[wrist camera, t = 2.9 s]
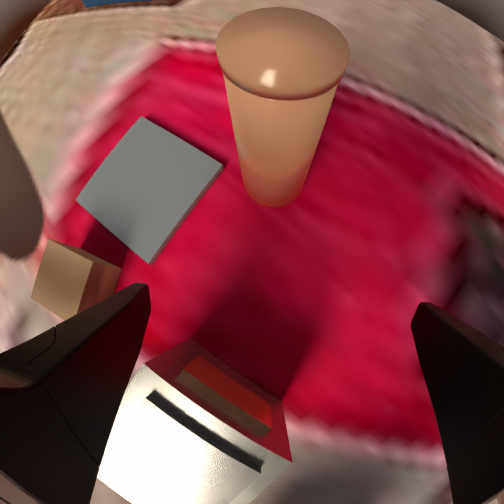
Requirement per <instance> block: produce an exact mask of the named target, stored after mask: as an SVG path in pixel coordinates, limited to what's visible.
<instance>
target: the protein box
mask: <svg viewBox="0 0 504 504" xmlns="http://www.w3.org/2000/svg"><path fill="white" fill-rule="evenodd" d="M134 1H150V0H82V2H83V4H84V5H85V7H92V6H98V5H105V4H113V3H123V2H134Z"/></svg>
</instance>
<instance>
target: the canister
mask: <svg viewBox="0 0 504 504" xmlns="http://www.w3.org/2000/svg"><path fill="white" fill-rule="evenodd" d="M216 52H217V57H218V62H219V66H220V68H221V70H222V72H223V74H224V80H225V85H226V91H227V97H228V102H229V108H230V113H231V119H232V124H233V130H234V135H235V141H236V147H237V152H238V158H239V163H240V169H241V175H242V180H243V185H244V188H245V191H246V192H247V194H248V195H249V197H250V198H251V199H252V200H254V201H255V202H256V203H258V204H260V205H263V206H266V207H282V206H285V205H288V204H290V203H291V202H293V201H294V200H295V199H296V198H297V197H298V196H299V194H300V193H301V191H302V189H303V186H304V183H305V180H306V177H307V174H308V171H309V169H310V166H311V163H312V160H313V157H314V154H315V151H316V148H317V145H318V142H319V140H320V137H321V134H322V131H323V128H324V125H325V122H326V119H327V116H328V113H329V110H330V107H331V104H332V101H333V98H334V95H335V92H336V89H337V85H338V83H339V82H340V80H341V79H342V77H343V75H344V73H345V70H346V67H347V64H348V61H349V47H348V43H347V41H346V39H345V38H344V36H343V35H342V33H341V32H340V31H339V30H338V29H337V28H336V27H335V26H334V25H332V24H331V23H329V22H328V21H326V20H325V19H323V18H321V17H319V16H317V15H314V14H312V13H309V12H306V11H302V10H298V9H292V8H282V7H272V8H262V9H257V10H253V11H249V12H246V13H244V14H241V15H239V16H237V17H235V18H234V19H232V20H231V21H230V22H228V23H227V24H226V25H225V26H224V27H223V28H222V29H221V31H220V33H219V34H218V37H217V40H216Z"/></svg>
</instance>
